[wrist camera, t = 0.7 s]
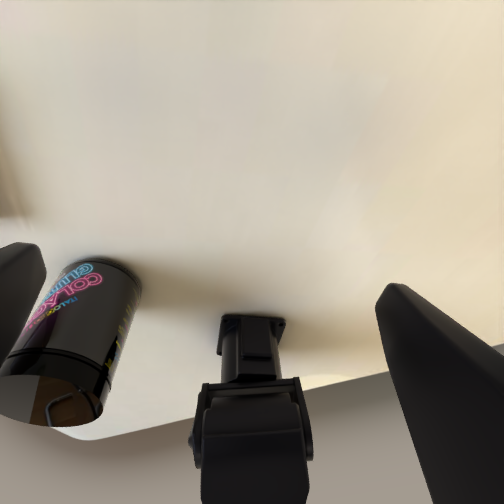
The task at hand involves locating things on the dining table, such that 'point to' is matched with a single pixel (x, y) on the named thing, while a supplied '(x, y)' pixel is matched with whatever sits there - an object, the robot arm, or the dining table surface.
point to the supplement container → (70, 347)
